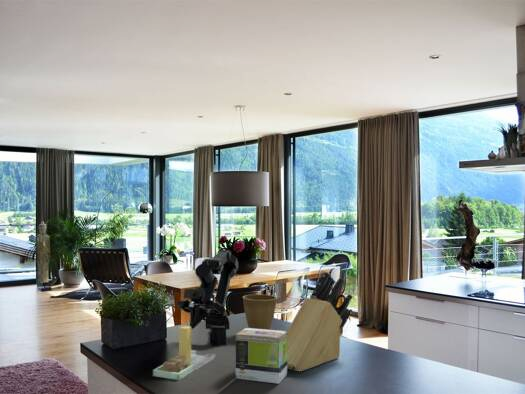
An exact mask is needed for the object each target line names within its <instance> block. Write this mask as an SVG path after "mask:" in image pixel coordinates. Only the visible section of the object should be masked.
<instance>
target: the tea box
mask: <svg viewBox="0 0 525 394" xmlns="http://www.w3.org/2000/svg"><path fill="white" fill-rule="evenodd" d="M286 376H288V368H287V330H277V329H269V330H268V329H255V328H249V327H245V328H244V329H242V330H240V331H239V332H237V333H236V334H235V379H237V380H239V379H240V380H246V381H255V382H261V383H262V382H263V383H269V384H270V383H271V384H280V383H281V382H282V381H283V380H284V378H285V377H286Z"/></svg>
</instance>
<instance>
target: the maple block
mask: <svg viewBox="0 0 525 394" xmlns="http://www.w3.org/2000/svg"><path fill="white" fill-rule="evenodd" d="M170 359H172V360H179V361H181V368H180V372H181V371H182V370H184V369H186V368H187V357H181V356H179V355H175V356H172V358H170Z"/></svg>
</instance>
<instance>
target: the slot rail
mask: <svg viewBox="0 0 525 394" xmlns="http://www.w3.org/2000/svg"><path fill="white" fill-rule="evenodd" d="M215 358H216V353H215V352H209V353H206V354H205V355H200V354H197V350H194V349H191V364H190V365H188V367H189V366H191V365H194V371H196V370H198V369H199V368H201V367H203V366H204V365H206V364H207V363H209V362H211V361H212V360H215ZM194 371H193V372H194Z"/></svg>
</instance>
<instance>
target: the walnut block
mask: <svg viewBox="0 0 525 394" xmlns="http://www.w3.org/2000/svg"><path fill="white" fill-rule="evenodd" d="M162 363H163V364H162V365H163V371H168V372H175V373H179V372H180V368H181V361H179V360H172V359H171V358H170V359H168V360H166V361H164V362H162Z"/></svg>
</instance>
